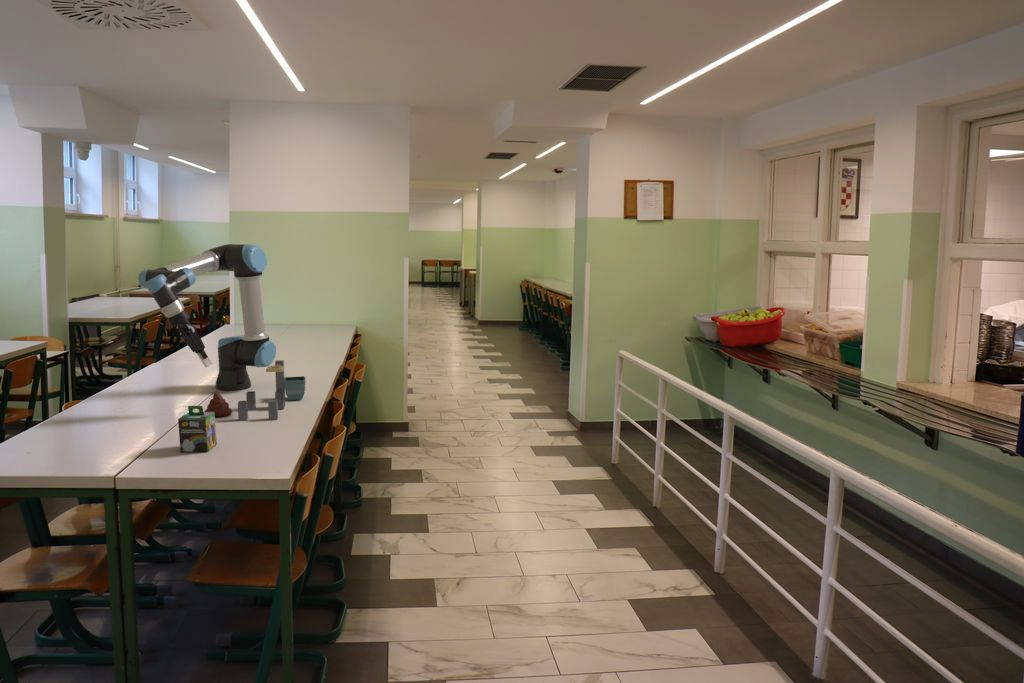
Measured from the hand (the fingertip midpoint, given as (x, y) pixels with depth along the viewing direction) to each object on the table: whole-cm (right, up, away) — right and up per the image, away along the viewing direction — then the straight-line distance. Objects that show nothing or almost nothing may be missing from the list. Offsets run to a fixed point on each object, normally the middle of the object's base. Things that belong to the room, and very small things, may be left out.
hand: (209, 365), depth 313 cm
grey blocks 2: (+26, -19, +1) cm, 32 cm away
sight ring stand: (+25, -18, +6) cm, 32 cm away
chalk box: (+14, -26, -47) cm, 56 cm away
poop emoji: (+4, -20, -2) cm, 20 cm away
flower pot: (+26, -15, +27) cm, 41 cm away
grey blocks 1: (+15, -19, 0) cm, 24 cm away
